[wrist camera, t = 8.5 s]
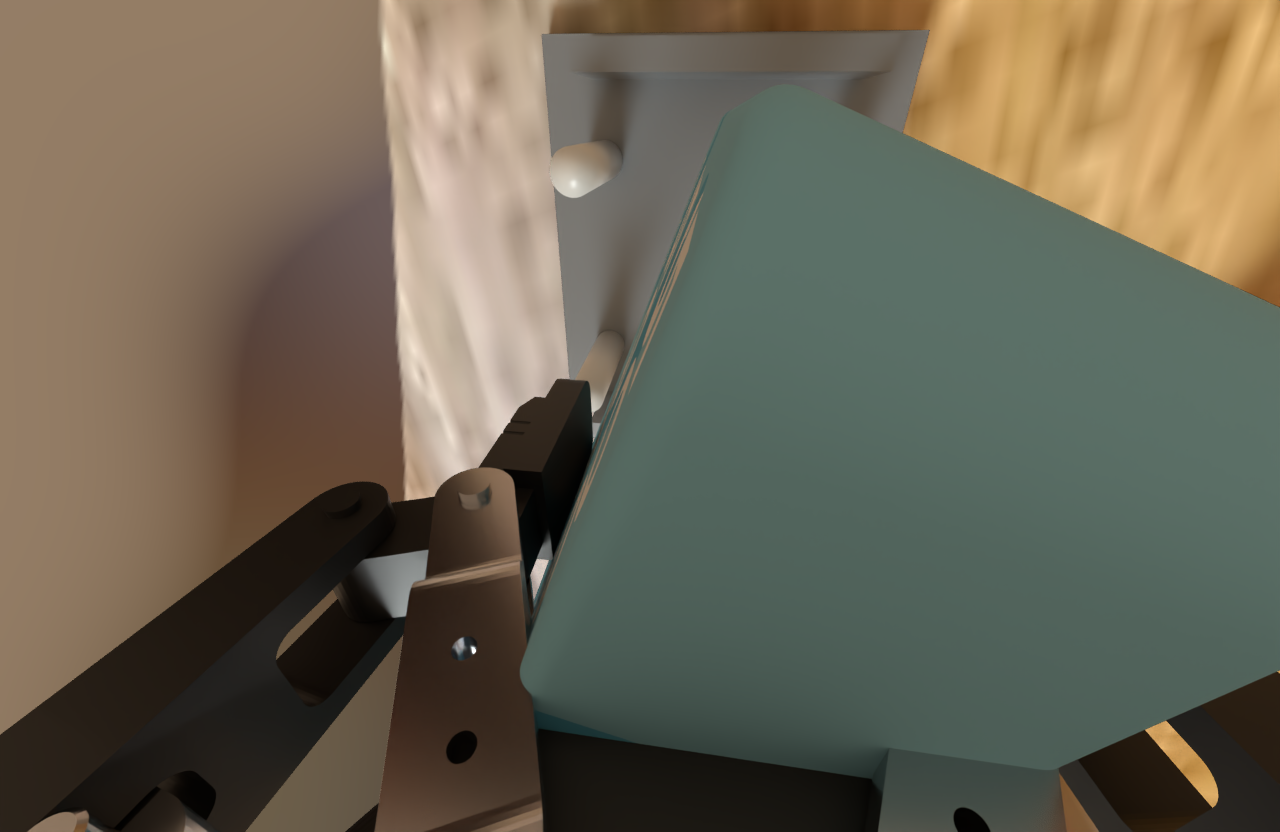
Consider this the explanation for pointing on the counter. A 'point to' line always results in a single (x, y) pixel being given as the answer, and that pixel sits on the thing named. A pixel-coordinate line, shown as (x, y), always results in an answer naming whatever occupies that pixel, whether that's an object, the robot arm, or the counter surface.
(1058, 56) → the counter surface
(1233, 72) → the counter surface
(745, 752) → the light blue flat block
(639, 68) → the tray
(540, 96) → the counter surface
